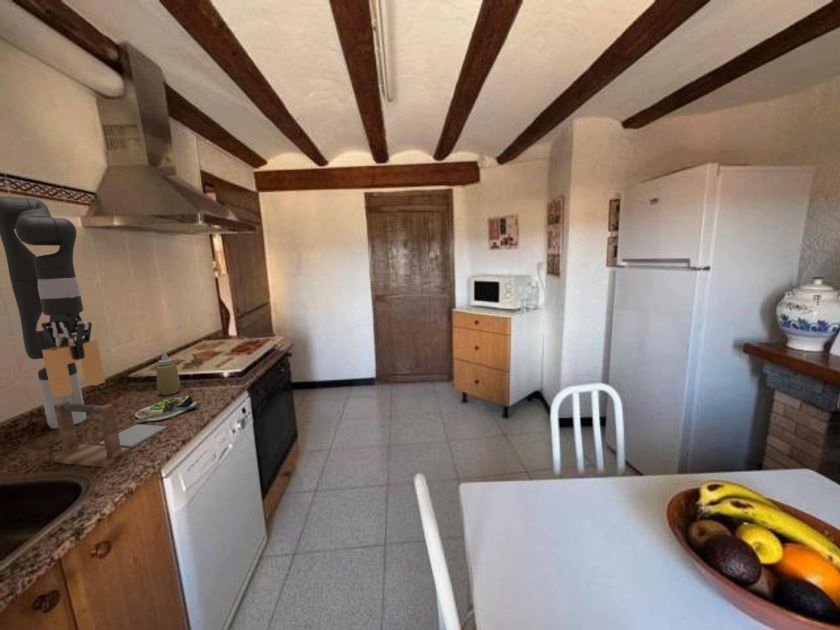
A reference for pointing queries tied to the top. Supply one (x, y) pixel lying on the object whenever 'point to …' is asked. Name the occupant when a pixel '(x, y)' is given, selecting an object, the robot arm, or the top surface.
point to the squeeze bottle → (167, 376)
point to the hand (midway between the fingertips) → (73, 358)
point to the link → (63, 355)
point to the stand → (85, 453)
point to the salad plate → (166, 409)
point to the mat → (137, 434)
